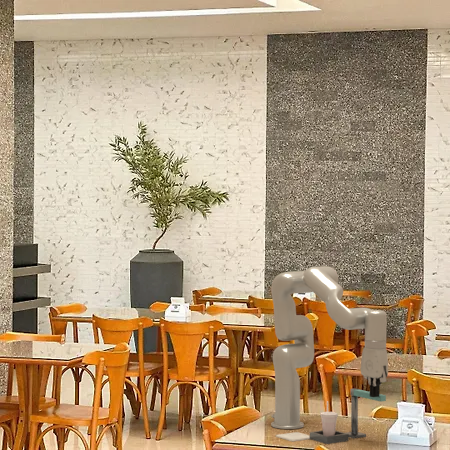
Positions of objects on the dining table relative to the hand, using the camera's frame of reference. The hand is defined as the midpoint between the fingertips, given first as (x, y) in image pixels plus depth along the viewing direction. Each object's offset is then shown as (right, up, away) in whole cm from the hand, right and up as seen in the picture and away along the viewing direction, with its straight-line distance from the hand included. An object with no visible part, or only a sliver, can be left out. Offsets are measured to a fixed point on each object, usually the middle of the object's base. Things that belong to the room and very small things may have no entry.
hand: (374, 396), depth 356 cm
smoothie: (-15, -17, +7) cm, 24 cm away
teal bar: (-1, -2, +8) cm, 8 cm away
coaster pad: (-28, -17, +11) cm, 34 cm away
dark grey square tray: (-15, -17, +7) cm, 24 cm away
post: (-5, -17, +14) cm, 23 cm away
